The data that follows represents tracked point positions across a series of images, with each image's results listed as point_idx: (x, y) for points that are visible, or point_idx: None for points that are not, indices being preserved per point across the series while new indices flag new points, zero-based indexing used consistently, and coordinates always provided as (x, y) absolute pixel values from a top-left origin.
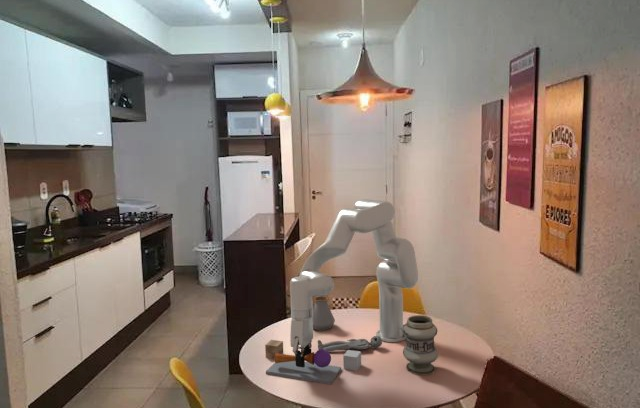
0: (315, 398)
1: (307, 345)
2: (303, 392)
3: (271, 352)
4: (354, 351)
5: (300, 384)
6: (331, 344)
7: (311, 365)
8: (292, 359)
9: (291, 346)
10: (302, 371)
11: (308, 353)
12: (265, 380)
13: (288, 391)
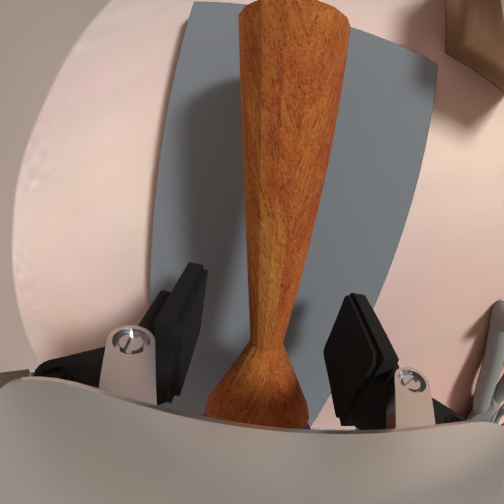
0: (47, 349)
1: (379, 426)
2: (55, 305)
3: (467, 6)
4: None
5: (106, 281)
6: None
7: (327, 321)
8: (247, 226)
9: (9, 389)
10: (228, 281)
11: (338, 377)
12: (108, 49)
13: (36, 235)
